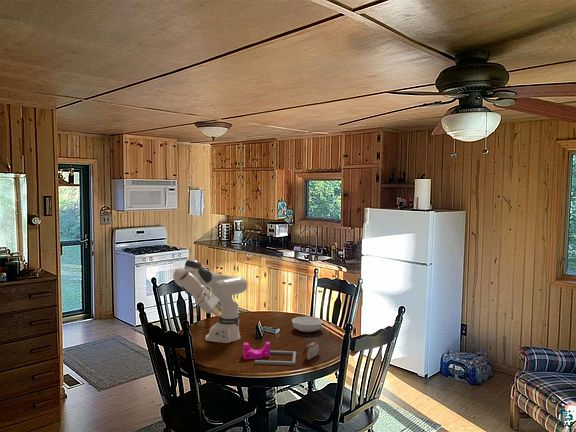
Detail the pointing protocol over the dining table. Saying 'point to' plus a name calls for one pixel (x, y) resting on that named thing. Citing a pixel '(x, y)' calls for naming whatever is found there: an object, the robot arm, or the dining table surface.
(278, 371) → the dining table surface
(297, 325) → the serving bowl
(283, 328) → the dining table surface
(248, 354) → the toy block
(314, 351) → the tin
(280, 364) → the frame
